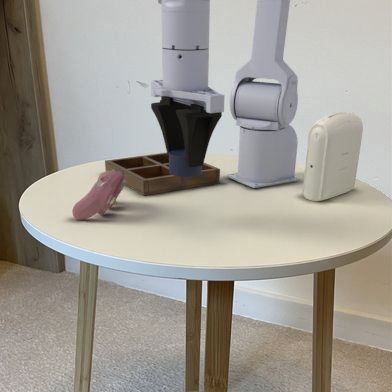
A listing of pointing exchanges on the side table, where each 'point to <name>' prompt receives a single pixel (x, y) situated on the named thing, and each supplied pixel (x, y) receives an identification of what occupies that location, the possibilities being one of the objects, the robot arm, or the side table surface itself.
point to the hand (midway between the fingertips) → (185, 161)
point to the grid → (159, 174)
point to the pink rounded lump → (100, 195)
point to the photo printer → (332, 156)
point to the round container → (181, 165)
